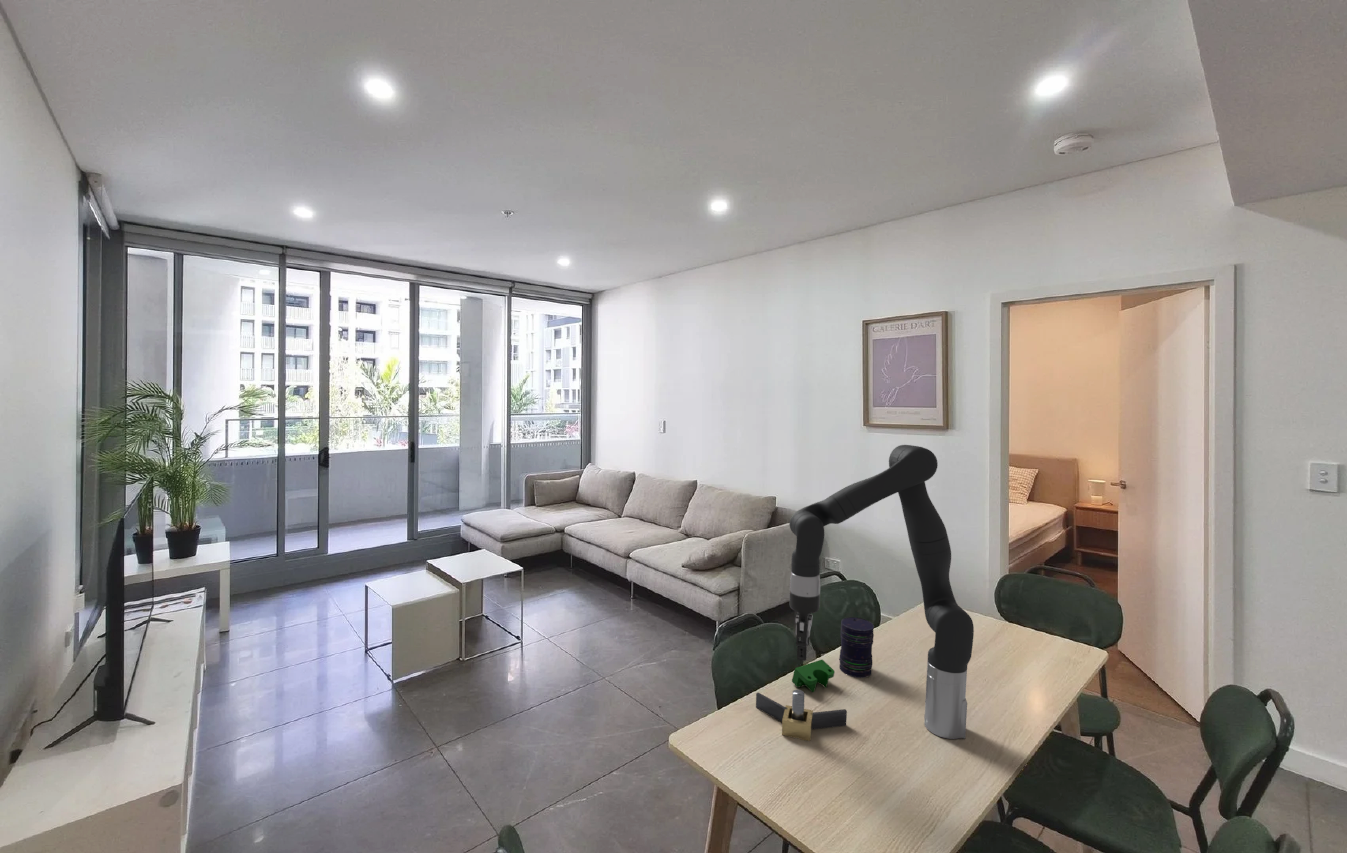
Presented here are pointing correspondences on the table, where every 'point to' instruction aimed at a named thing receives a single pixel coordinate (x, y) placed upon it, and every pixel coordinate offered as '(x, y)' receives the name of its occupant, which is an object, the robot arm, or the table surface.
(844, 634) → the storage jar
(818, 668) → the clamp
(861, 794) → the table surface
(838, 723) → the hinge
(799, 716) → the hinge pin
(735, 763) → the table surface
